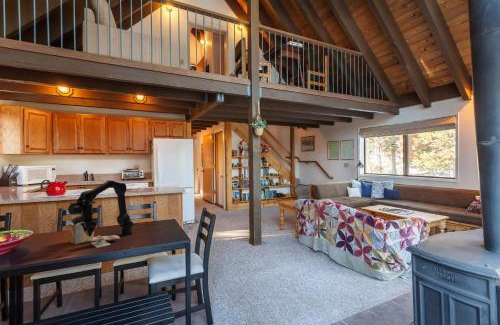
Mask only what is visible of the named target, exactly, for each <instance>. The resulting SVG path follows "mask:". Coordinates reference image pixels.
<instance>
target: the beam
mask: <svg viewBox="0 0 500 325" xmlns="http://www.w3.org/2000/svg"><path fill="white" fill-rule="evenodd" d="M102 238H104V240H105V241H107V240H109V241H110V240H120V239H121V237H120V236H119V235H117V234H116V235H115V234H114V235H104V236H103V235H100V237H97V236H93V239H88V240H84V239H83V238H80V240H81V241H82V243H85V242H86V243H87V242H96V241H99V240H102Z"/></svg>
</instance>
